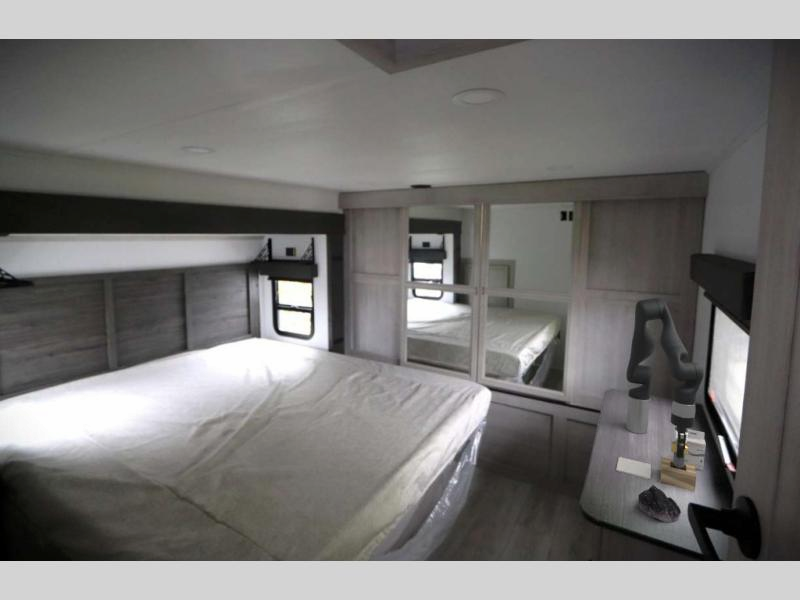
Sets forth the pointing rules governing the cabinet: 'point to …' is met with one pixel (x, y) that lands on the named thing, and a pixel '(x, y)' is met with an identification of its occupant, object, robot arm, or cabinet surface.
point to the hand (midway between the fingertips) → (679, 452)
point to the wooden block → (678, 474)
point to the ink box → (696, 449)
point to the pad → (634, 468)
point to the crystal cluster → (658, 505)
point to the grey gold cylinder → (677, 461)
